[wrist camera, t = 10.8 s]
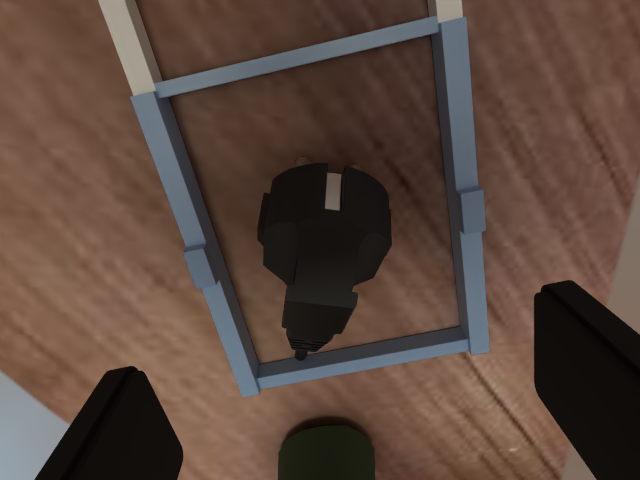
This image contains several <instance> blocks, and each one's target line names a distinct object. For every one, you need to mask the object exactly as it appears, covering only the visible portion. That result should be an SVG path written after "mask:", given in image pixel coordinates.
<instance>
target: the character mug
mask: <svg viewBox="0 0 640 480" xmlns="http://www.w3.org/2000/svg"><path fill="white" fill-rule="evenodd" d="M278 480H375V461H374V447H373V446H372V444H371V443H370V442H369V441H368V439H367V438H366V437H365V435H364V434H362V433H360V432H358V431H356V430H354V429H352V428H350V427H348V426H321V427H316V428H312V429H307V430H302V431H300V432H299V433H297V434H295V435H293V436H292V437H290V438H288V439H286V441H285V442H284V444H283V446H282V448H281V450H280V451H279V461H278Z"/></svg>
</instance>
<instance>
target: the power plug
mask: <svg viewBox="0 0 640 480" xmlns="http://www.w3.org/2000/svg"><path fill="white" fill-rule="evenodd" d="M327 170H328V164H327V163H316V164H311V162H310V160H309V159H308V158H307V157H304V156H301V157H299V158H297V159H296V161H295V167H294V168H292V169H289V170H287V171H285V172H283V173H281V174H280V175H278V176H277V177H275V178H274V179H273V180H272V186H271V192H270V194H269V193H264V195H263V200H262V206H261V211H260V217H259V223H258V228H257V232H258V241H259V242H260V243H261V244H262V245H263V246H264V258H263V265H264V266H265V267H266V268H268V269H269V270H270V271H271V272H273V273H274V274H275V275H277V276H278V277H279V278H280V279H282V280H283V281H284V282H285V283H286V285H287V289H286V296H285V303H284V311H283V318H282V327H283V328H287V331H286V335H287V337H288V340H289V343H290V346H291V348H292V349H293V350H296V352H295V358H296V359H297V360H299V361H303V360H304V359H305V358H306V355H307V352H308V351H311V352H316V351H317V350H319V349H320V348H322V347H323V346H324V345H325V344H327V343H328V342H330V341H331V340H332V338H333V336H334V335H335V334H341V333H342V332H343V330H344V328H345V326H346V324H347V322H348V320H349V318H350V316H351V314H352V312H353V311H354V309H355V307H356V305H357V299H358V294H357V293H356V292H352V289H353V286H355V285H357V284H359V283H362V282H364V281H367V280H370V279H372V278H374V276H375V274H376V272H377V270H378V268H379V266H380V265H381V263H382V261H383V259H384V257H385V256H386V255H387V253H388V251H389V249H390V247H391V246H392V239H391V213H390V209H389V197H388V194H387V192H386V190H385V189H384V187H383V186H382V185H381V184H380V183H379V182H378V181H377V180H376V179H374V178H373V177H372V176H370V175H368V174H366V173H365V172H363V169H362V167H361V166H360V165H359V164H352V165H350V166H349V167H348V166H345V168H344V172H343V175H342V174H335V173H328V172H327Z"/></svg>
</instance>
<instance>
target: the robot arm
mask: <svg viewBox="0 0 640 480" xmlns="http://www.w3.org/2000/svg"><path fill="white" fill-rule="evenodd" d="M534 383H535V388H536V391H537V393H538V396H539V397H540V399H541V401H542V402H543V403H544V405H545V406H546V408H547V409H548V411H549V412H550V413H551V415H552V416H553V418H554V419H555V421H556V422H557V423H558V425H559V426H560V428H561V429H562V431H563V432H564V434H565V435H566V436H567V438H568V439H569V441H570V442H571V444H572V445H573V446H574V448H575V449H576V451H577V452H578V453H579V455H580V456H581V458H582V459H583V461H584V462H585V464H586V465H587V466H588V468H589V469H590V471H591V472H592V473H593V475H594V476H595V478H596V479H597V480H640V335H639V334H638V333H637V332H636V331H634V330H633V329H632V328H631V327H629V326H628V325H627V324H626V323H625V322H623V321H622V320H621V319H620V318H618V317H617V316H616V315H615V314H613V313H612V312H611V311H610V310H608V309H607V308H606V307H605V306H604V305H602V304H601V303H600V302H599V301H597V300H596V299H595V298H594V297H592V296H591V295H590V294H589V293H587V292H586V291H585V290H584V289H582V288H581V287H580V286H579V285H578V284H576V283H575V282H573V281H571V280H567V281H562V282H557V283H552V284H547V285H544V286H542V288H541V292H540V293H536V294H535V296H534ZM182 462H183V449H182V446H181V444H180V442H179V440H178V438H177V436H176V434H175V432H174V430H173V428H172V426H171V424H170V422H169V420H168V418H167V416H166V414H165V412H164V410H163V408H162V406H161V404H160V402H159V400H158V398H157V396H156V394H155V392H154V390H153V388H152V386H151V384H150V382H149V380H148V378H147V376H146V374H145V373H144V372H143V371H138V369H137V368H135V367H134V366H129V367H124V368H119V369H114V370H110V371H107V372H106V373H105V374H104V376H103V377H102V379H101V380H100V382H99V383H98V385H97V386H96V388H95V389H94V391H93V392H92V394H91V395H90V397H89V398H88V400H87V401H86V403H85V404H84V406H83V407H82V409H81V410H80V412H79V413H78V415H77V416H76V418H75V419H74V421H73V422H72V424H71V425H70V427H69V428H68V430H67V431H66V433H65V434H64V436H63V437H62V439H61V440H60V442H59V444H58V445H57V447H56V448H55V449H54V451H53V453H52V454H51V456H50V457H49V459H48V460H47V462H46V463H45V465H44V466H43V468H42V469H41V471H40V472H39V474H38V475H37V477H36V478H35V480H177V478H178V475H179V472H180V469H181V466H182Z"/></svg>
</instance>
